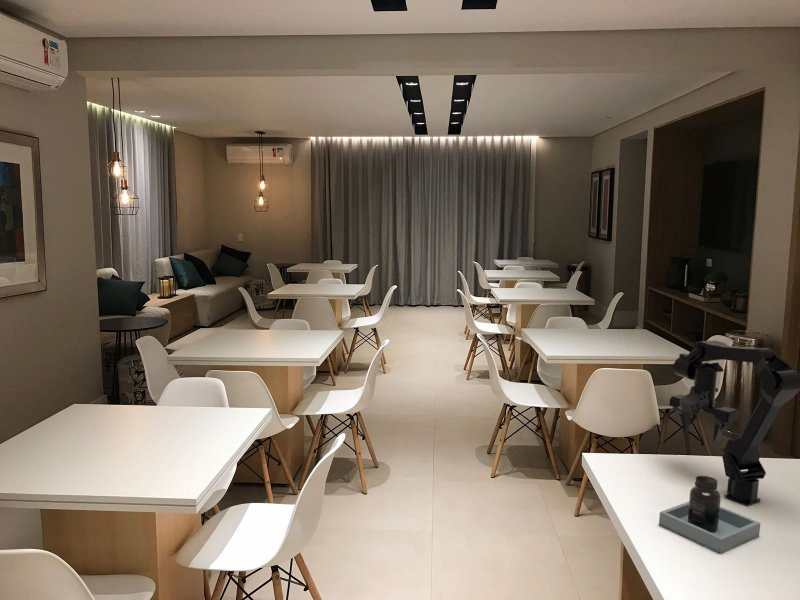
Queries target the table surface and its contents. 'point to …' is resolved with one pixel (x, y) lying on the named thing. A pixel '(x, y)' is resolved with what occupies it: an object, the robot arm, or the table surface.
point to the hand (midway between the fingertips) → (700, 436)
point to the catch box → (725, 538)
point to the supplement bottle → (704, 504)
